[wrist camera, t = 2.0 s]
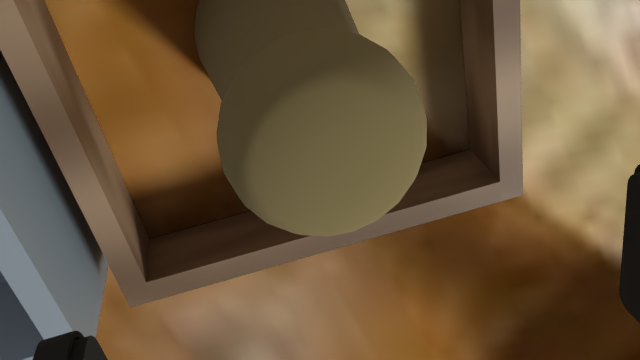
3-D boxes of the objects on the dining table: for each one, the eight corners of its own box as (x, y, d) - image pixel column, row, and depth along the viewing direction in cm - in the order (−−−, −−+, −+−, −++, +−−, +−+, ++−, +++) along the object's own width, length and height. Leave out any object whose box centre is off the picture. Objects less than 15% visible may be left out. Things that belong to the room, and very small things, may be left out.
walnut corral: (-68, -170, 18) (-111, -172, 15) (469, -290, 19) (514, -311, 16) (135, 262, 26) (130, 307, 24) (491, 162, 28) (523, 194, 25)
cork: (189, -54, 20) (194, 33, 11) (357, -48, 22) (488, 35, 12) (196, 107, 23) (205, 284, 14) (344, 105, 25) (441, 266, 15)
